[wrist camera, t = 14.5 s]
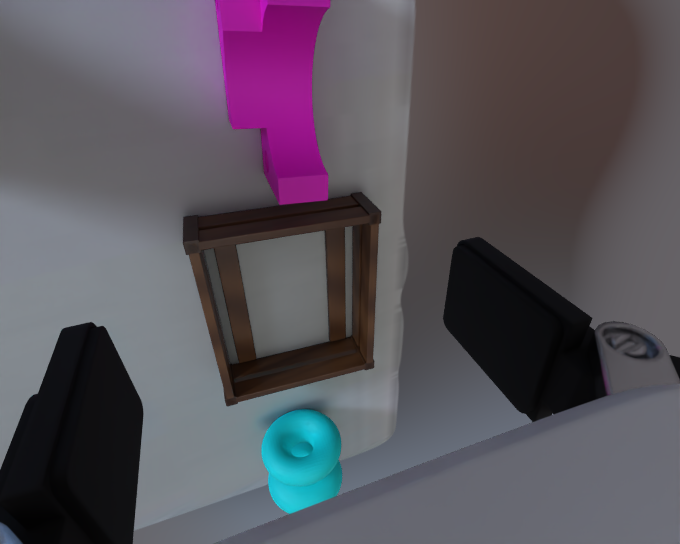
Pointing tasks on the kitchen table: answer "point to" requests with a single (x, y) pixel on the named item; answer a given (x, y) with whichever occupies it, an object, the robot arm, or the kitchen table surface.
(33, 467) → the robot arm
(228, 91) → the magenta cradle bracket
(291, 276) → the kitchen table surface
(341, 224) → the crate
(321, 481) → the donuts
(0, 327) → the kitchen table surface
